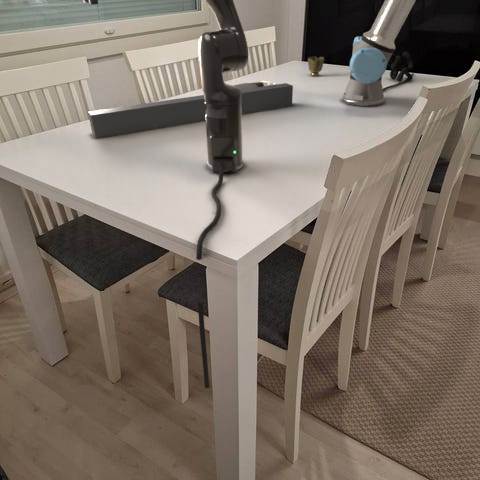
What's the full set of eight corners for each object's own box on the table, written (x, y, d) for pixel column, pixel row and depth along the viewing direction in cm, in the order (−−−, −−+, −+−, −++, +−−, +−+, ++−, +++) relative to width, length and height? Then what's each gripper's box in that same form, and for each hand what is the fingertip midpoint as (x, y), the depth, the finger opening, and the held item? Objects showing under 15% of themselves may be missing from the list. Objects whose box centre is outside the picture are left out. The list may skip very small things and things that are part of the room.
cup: (304, 76, 210) (305, 58, 205) (310, 73, 215) (311, 55, 211) (319, 77, 207) (321, 59, 202) (324, 74, 212) (326, 56, 208)
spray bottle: (223, 95, 183) (259, 84, 199) (243, 99, 177) (279, 87, 193) (222, 87, 181) (259, 77, 197) (243, 91, 175) (279, 80, 191)
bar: (95, 138, 141) (90, 115, 137) (92, 134, 144) (87, 111, 140) (292, 105, 168) (293, 85, 165) (285, 102, 172) (286, 83, 168)
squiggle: (400, 92, 202) (376, 71, 205) (417, 76, 202) (392, 56, 205) (405, 81, 191) (380, 59, 194) (423, 64, 191) (397, 42, 194)
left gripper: (99, -68, 113) (110, 4, 121) (88, -65, 123) (98, 1, 132) (68, -69, 110) (82, 5, 118) (59, -65, 121) (72, 2, 129)
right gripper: (311, -83, 130) (307, -1, 141) (268, -77, 149) (267, -5, 160) (289, -84, 127) (286, 1, 138) (248, -77, 146) (248, -4, 157)
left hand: (90, 3), depth 125 cm, fingers open, 8 cm apart
